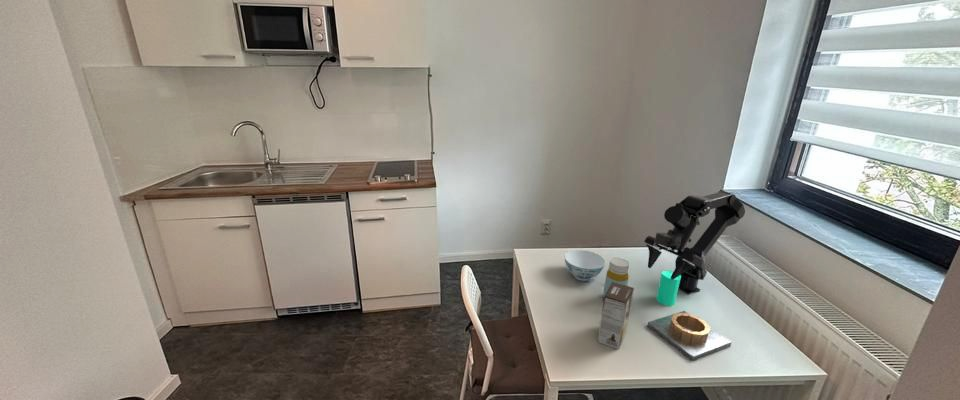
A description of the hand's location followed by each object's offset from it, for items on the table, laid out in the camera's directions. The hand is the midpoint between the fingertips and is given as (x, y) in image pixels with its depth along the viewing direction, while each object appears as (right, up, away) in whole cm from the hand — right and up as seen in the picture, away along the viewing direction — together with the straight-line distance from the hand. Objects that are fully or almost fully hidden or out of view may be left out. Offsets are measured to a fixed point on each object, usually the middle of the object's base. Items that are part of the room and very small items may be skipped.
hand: (659, 273), depth 125 cm
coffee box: (-21, -17, -13) cm, 30 cm away
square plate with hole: (+3, -17, -12) cm, 21 cm away
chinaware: (-20, -5, +20) cm, 29 cm away
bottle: (-14, -11, +5) cm, 18 cm away
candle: (+5, -11, +6) cm, 13 cm away
